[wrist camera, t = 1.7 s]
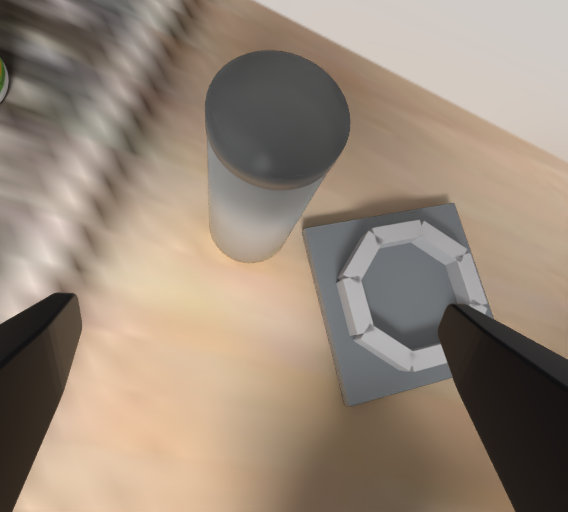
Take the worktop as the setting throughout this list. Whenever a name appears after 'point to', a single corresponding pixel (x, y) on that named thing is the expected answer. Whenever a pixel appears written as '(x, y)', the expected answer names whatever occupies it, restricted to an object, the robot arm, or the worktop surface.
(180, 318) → the worktop surface
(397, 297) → the ring socket board
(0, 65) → the supplement bottle
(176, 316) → the worktop surface
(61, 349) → the robot arm
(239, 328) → the worktop surface
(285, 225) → the canister
